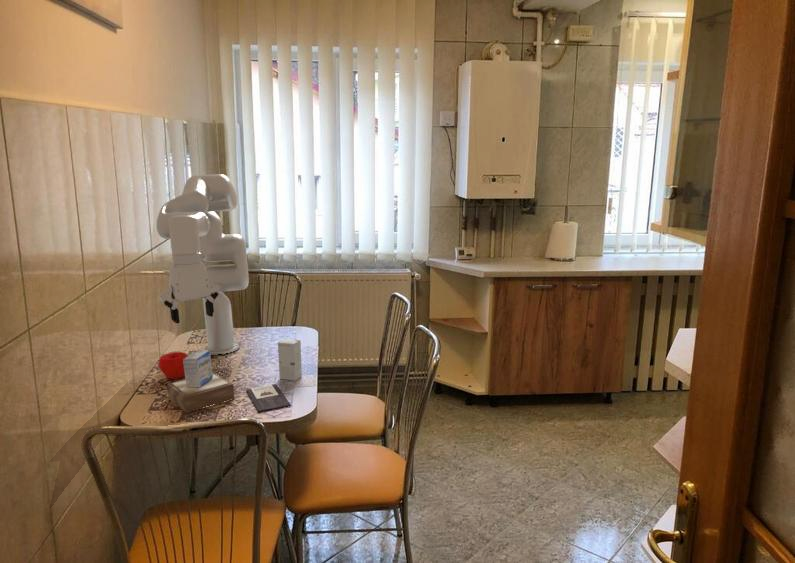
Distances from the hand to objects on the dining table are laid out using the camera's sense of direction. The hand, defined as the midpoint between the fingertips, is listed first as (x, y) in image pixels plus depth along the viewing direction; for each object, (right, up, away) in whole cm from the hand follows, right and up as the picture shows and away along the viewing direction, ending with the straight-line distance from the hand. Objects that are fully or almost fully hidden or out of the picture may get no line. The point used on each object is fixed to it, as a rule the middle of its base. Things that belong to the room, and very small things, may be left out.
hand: (193, 319), depth 169 cm
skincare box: (+24, -20, +20) cm, 37 cm away
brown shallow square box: (+1, -24, +5) cm, 24 cm away
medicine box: (+1, -19, +4) cm, 19 cm away
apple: (-14, -21, +24) cm, 34 cm away
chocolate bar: (+20, -24, +4) cm, 32 cm away
